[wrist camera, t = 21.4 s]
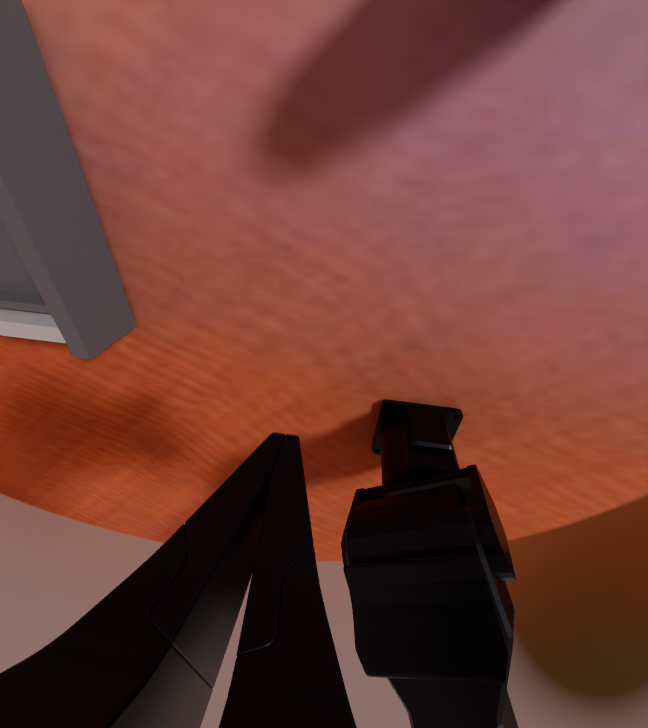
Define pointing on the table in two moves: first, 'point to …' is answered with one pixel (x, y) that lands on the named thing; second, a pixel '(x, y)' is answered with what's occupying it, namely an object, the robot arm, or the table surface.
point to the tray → (49, 207)
